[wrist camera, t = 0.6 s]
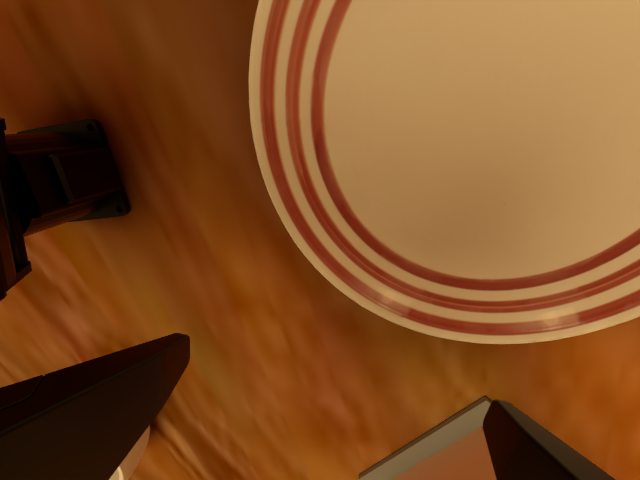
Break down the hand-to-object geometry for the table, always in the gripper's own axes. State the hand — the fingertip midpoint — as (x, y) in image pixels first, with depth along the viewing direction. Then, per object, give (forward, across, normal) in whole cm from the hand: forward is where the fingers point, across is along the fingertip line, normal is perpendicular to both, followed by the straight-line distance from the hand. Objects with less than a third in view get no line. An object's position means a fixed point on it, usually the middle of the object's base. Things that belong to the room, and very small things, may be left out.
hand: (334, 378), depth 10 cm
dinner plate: (+14, +7, +8) cm, 17 cm away
